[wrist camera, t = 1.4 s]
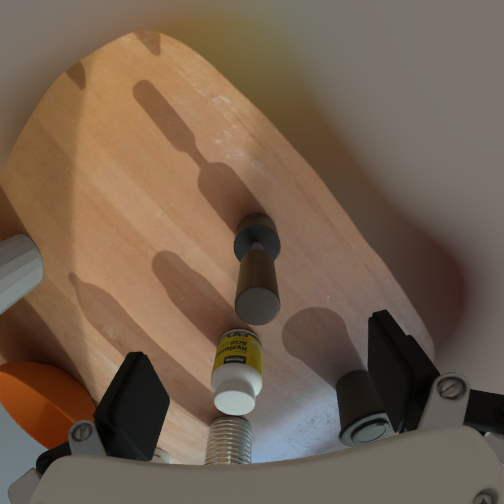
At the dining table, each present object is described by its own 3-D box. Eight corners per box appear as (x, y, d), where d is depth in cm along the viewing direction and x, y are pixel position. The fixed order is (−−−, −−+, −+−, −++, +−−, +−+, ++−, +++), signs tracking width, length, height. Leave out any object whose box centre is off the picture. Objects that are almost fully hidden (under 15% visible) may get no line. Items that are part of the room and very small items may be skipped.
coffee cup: (380, 356, 34) (406, 407, 25) (377, 392, 37) (397, 440, 27) (324, 371, 35) (339, 428, 25) (328, 406, 37) (340, 457, 28)
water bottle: (256, 434, 40) (255, 565, 16) (217, 437, 40) (203, 563, 17) (245, 411, 38) (239, 562, 14) (204, 415, 38) (180, 556, 15)
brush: (230, 237, 29) (205, 315, 15) (251, 205, 28) (245, 256, 14) (262, 257, 30) (267, 348, 15) (284, 226, 28) (310, 296, 14)
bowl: (63, 426, 44) (47, 454, 35) (0, 340, 36) (-26, 367, 27) (145, 436, 42) (132, 476, 32) (71, 332, 34) (36, 373, 24)
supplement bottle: (250, 320, 32) (247, 379, 23) (269, 352, 34) (272, 412, 24) (210, 336, 33) (196, 393, 24) (230, 365, 35) (224, 424, 25)
